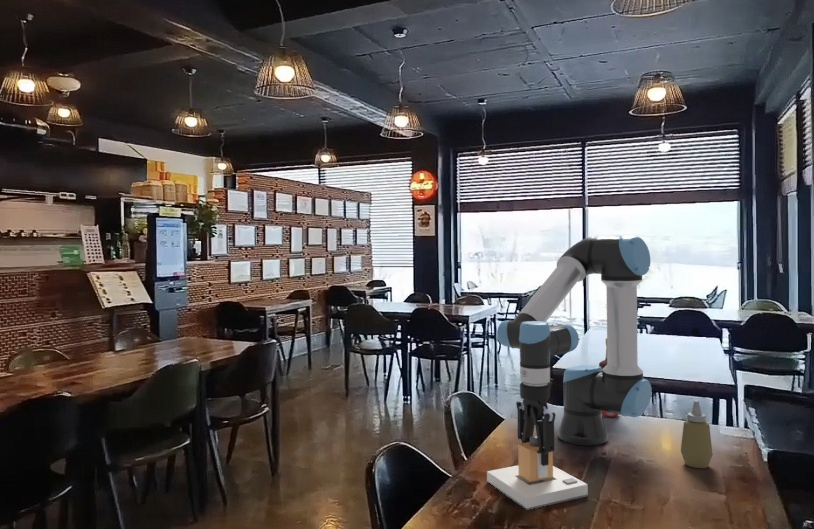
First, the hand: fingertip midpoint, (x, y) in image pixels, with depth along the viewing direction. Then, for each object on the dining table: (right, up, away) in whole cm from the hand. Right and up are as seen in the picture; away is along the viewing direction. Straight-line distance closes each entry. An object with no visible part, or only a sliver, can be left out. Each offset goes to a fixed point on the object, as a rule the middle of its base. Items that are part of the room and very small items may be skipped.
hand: (535, 472), depth 151 cm
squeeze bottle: (+48, -3, +15) cm, 51 cm away
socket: (0, -4, 0) cm, 4 cm away
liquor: (+41, -2, +62) cm, 74 cm away
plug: (0, -1, 0) cm, 1 cm away
